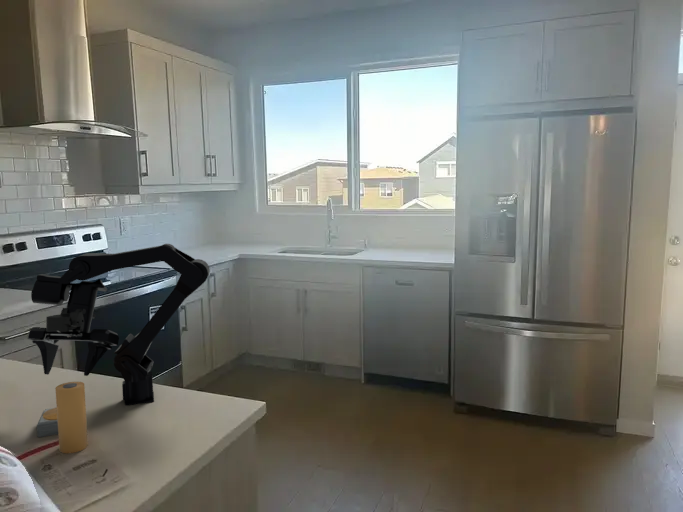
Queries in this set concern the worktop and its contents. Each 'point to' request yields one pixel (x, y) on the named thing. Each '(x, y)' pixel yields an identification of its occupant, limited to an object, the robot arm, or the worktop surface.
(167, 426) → the worktop surface
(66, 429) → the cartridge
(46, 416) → the unit
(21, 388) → the worktop surface
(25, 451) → the worktop surface
